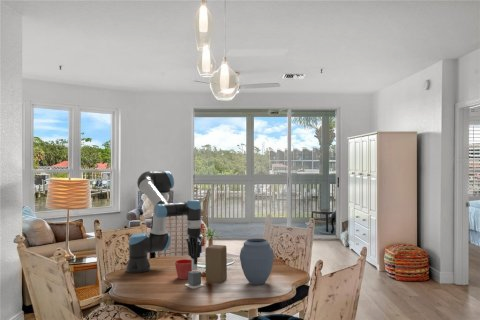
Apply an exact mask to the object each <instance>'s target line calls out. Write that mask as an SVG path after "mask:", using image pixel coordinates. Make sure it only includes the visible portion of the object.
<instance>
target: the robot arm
mask: <svg viewBox="0 0 480 320" xmlns="http://www.w3.org/2000/svg"><path fill="white" fill-rule="evenodd" d="M174 179H175V178H174V176H173V173H172V172H171V171H169V170H153V171H151V170H148V171H145V172H143V173H141V174H140V175H139V177H138V178H137V182H136V183H137V188H138V189H139V191H140V192H141V193H144V195H145V196H146V197H147V199H148V200H149V201H150V203H151V204H152V205H153V209H152V210H153V211H152V212H153V213H152V227H151V229H150V231H149V234H148V233H147V232H138V233H135V234H132V235H130V236H129V238H128V261H127V265H126V272H127V273H129V274H141V273H147V272H150V270H151V264H150V261H149V257H148V253H157V252H163V251H167V250H168V249H169V248H170V245H171V234H170V233H169V232H168V230H167V229H166V227H167V218H170V217H172V218H173V217H182V216H186V218H187V219H186V221H187V222H186V223H187V230H186V232H187V233H186V234H187V236H188V238H186V240H185V241H186V244H187V252H188V256H189V257H190V260H191V262H192V271H198V259H199V258H201V253H202V252H201V250H202V244H203V240H200V239H201V238H200V235H201V233H202V229H201V226H202V223H201V222H202V221H201V220H202V217H201V216H202V215H201V211H202V210H201V209H202V205H201V200H199V199H188V200H187V201H181V202H172V203H170V202H168V196H169V193H171V189H173V188H174V187H175V180H174Z"/></svg>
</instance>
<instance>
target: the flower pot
mask: <svg viewBox="0 0 480 320" xmlns="http://www.w3.org/2000/svg"><path fill="white" fill-rule="evenodd" d="M174 265H175V271H176V276H177V278H178V279H180V280H186V279H187V280H188V272H191V271H193V270H192V262H191V259H189V258H188V259H186V258H185V259H183V258H182V259H178V260H176V261H174Z"/></svg>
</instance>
